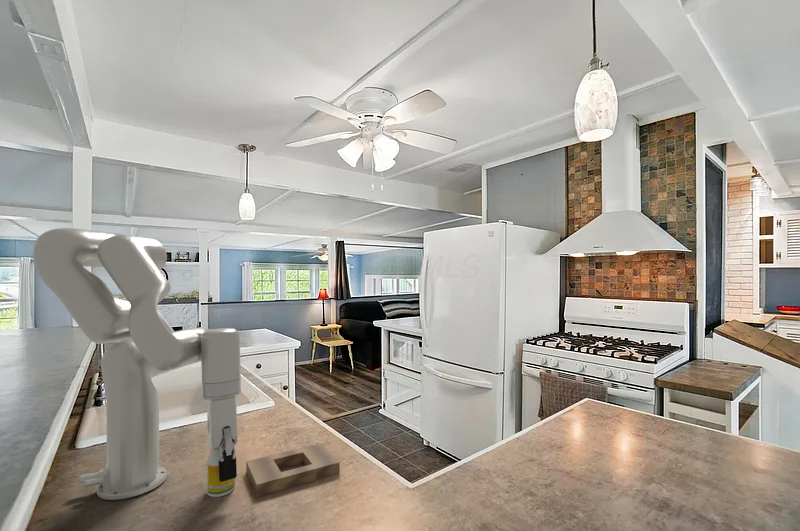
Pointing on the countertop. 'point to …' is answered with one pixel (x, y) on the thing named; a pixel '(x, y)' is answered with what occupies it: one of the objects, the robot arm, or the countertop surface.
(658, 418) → the countertop surface
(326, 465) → the frame
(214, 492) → the supplement bottle
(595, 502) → the countertop surface
